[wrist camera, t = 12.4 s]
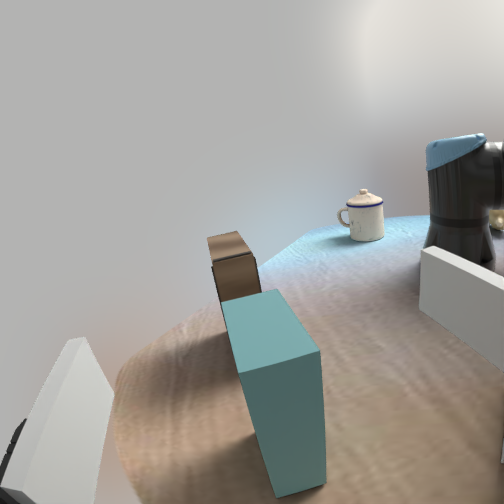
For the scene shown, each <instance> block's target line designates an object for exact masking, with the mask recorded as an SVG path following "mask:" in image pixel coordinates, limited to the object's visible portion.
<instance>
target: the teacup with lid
mask: <svg viewBox="0 0 504 504" xmlns="http://www.w3.org/2000/svg"><path fill="white" fill-rule="evenodd" d="M359 192H360V194H357V195H356V196H355V197H353V198H352V199H350V200H348V201H347V204H346V205H347V206H348V208H342V209H340V210H339V211H338V214H337V216H338V220H339V222H340V224H341V225H343V226H344V227H348V228H350V235H351V238H352V239H353V240H356V241H375V240H378V239H381V238H382V237H383V236H384V219H383V206H382V203H383V201H382V198H380V197H376V196H374V195H373V194H370V193H368V191H367V189H362V190H360V191H359ZM342 211H348V215H349V224H346V223H345V222H344V221H343V220H342V218H341V212H342Z"/></svg>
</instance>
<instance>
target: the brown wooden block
mask: <svg viewBox="0 0 504 504" xmlns="http://www.w3.org/2000/svg"><path fill="white" fill-rule="evenodd" d="M207 241H208V246H209V250H210V255H211V260H212V264H213V266H212V267H211V268H212V272H213V276H214V280H215V284H216V288H217V293H218V297H219V301H220V305H221V309H222V304H221V302H225V301H229V300H233V299H237V298H242V297H246V296H250V295H254V294H258V293H262V291H261V285H260V280H259V275H258V269H257V264H256V259H255V257H254V256H253V253H252V252H251V250H250V249H249V247H248V246H247V245H246V243H245V242H244V240H243V239H242V238H241V236H240V235H239V233H238V232H237V231H234V232H230V233H226V234H221V235H217V236H212V237H208V238H207ZM222 313H223V309H222ZM223 317H224V313H223ZM224 321H225V317H224ZM225 325H226V321H225ZM226 329H227V326H226ZM227 332H228V330H227ZM228 336H229V334H228ZM229 340H230V338H229ZM230 344H231V342H230ZM231 348H232V346H231ZM232 351H233V350H232ZM233 355H234V354H233ZM234 359H235V358H234ZM235 363H236V362H235Z"/></svg>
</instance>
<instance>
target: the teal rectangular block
mask: <svg viewBox="0 0 504 504" xmlns="http://www.w3.org/2000/svg"><path fill="white" fill-rule="evenodd" d="M221 304H222V309H223V313H224V317H225V321H226V326H227V330H228V334H229V338H230V342H231V346H232V350H233V354H234V358H235V362H236V366H237V370H238V374H239V378H240V381H241V385H242V388H243V392H244V395H245V399H246V402H247V406H248V409H249V413H250V416H251V420H252V423H253V426H254V430H255V433H256V436H257V440H258V443H259V446H260V450H261V453H262V456H263V459H264V462H265V466H266V469H267V472H268V475H269V478H270V481H271V484H272V487H273V490H274V493H275V497H276V498H279V497H283V496H287V495H290V494H294V493H297V492H301V491H304V490H307V489H310V488H313V487H316V486H319V485H322V484H325V483H326V443H325V419H324V400H323V384H322V370H321V356H320V350H319V348H318V347H317V345H316V344H315V342H314V341H313V339H312V338H311V337H310V335H309V334H308V332H307V331H306V329H305V328H304V327H303V325H302V324H301V322H300V321H299V319H298V318H297V316H296V315H295V314H294V312H293V311H292V309H291V308H290V306H289V305H288V304H287V302H286V301H285V299H284V298H283V296H282V295H281V293H280V292H279V291H278V289H274V290H270V291H266V292H262V293H258V294H254V295H250V296H246V297H242V298H237V299H233V300H229V301H225V302H221Z"/></svg>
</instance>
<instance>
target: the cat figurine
mask: <svg viewBox="0 0 504 504" xmlns="http://www.w3.org/2000/svg"><path fill="white" fill-rule="evenodd" d="M490 224H491V225H492V227H493V228H495V229H497V230H504V210H489V225H490Z"/></svg>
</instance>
